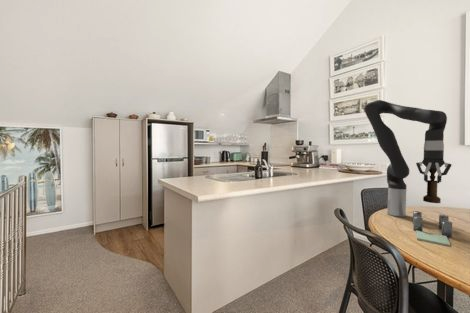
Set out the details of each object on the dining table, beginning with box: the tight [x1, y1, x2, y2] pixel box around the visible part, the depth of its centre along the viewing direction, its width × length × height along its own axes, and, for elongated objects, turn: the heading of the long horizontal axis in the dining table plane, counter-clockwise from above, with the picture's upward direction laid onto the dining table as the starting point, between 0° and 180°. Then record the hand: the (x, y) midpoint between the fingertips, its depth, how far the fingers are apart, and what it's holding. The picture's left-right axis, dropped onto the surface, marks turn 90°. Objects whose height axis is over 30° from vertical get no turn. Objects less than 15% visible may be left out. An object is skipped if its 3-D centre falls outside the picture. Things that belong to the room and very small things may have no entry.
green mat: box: [415, 230, 451, 247], centre depth 100 cm, size 11×12×1 cm
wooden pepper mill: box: [422, 168, 442, 204], centre depth 110 cm, size 7×6×18 cm
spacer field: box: [412, 210, 453, 239], centre depth 111 cm, size 14×16×7 cm
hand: (432, 182), depth 110 cm, fingers closed on wooden pepper mill, 4 cm apart
